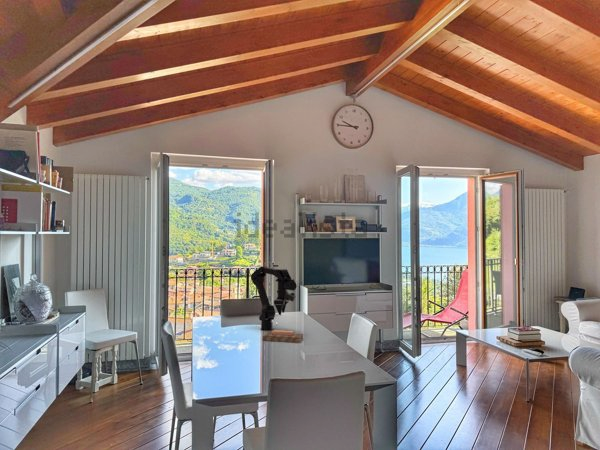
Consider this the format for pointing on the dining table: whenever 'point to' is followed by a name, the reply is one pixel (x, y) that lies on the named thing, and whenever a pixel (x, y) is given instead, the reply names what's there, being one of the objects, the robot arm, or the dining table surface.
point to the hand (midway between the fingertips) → (281, 313)
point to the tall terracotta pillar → (283, 332)
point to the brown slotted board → (283, 337)
